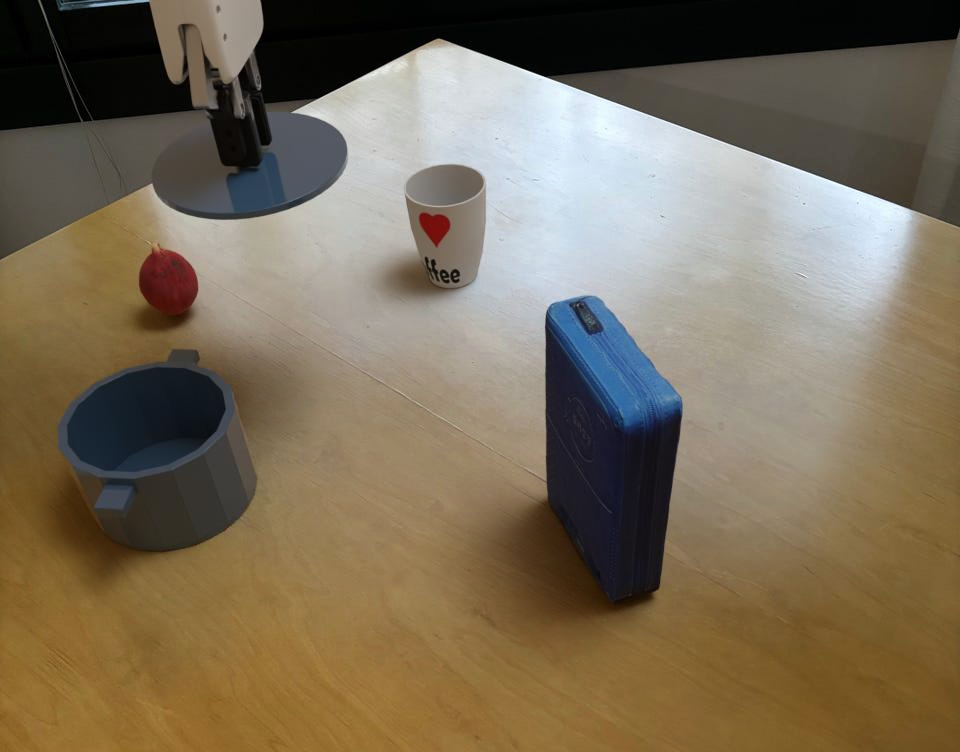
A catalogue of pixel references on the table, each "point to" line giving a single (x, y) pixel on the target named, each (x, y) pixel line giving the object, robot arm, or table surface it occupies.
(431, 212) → the cup
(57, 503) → the table surface
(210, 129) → the lid
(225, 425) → the pot
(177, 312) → the red pomegranate
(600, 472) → the blue case
